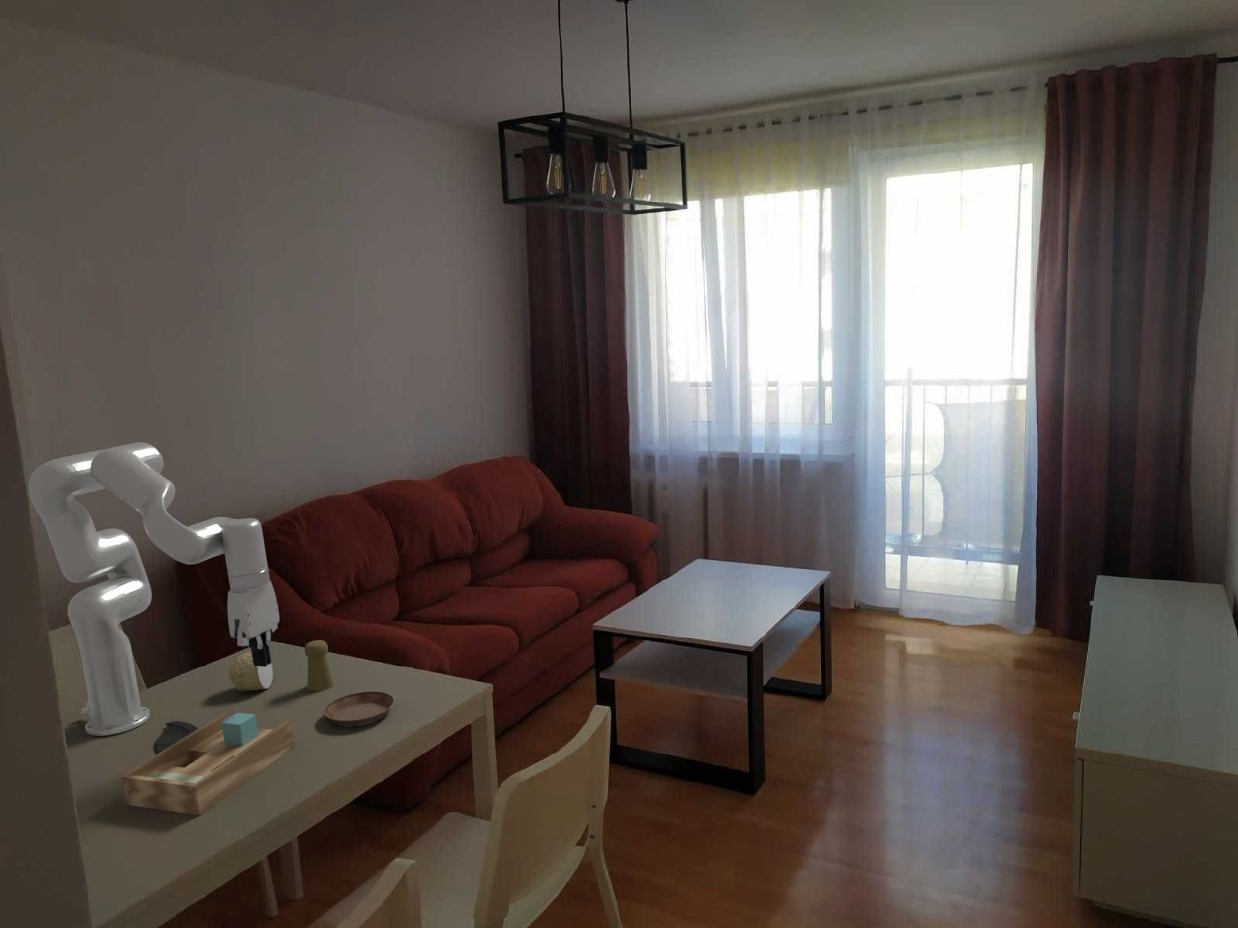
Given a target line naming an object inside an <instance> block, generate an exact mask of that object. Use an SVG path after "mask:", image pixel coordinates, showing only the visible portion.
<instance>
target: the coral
mask: <svg viewBox="0 0 1238 928" xmlns="http://www.w3.org/2000/svg"><path fill="white" fill-rule="evenodd" d="M227 671H228V672H227V675H228V678H229V681H230V682H231V683H232V685H233V687H234V688H235V689H236V690H238V692H251V691H260V690H268V689H270V687H271V685H272V682H273V678H274V671H273V664H272V662H271V664H269V665H267V666H266V667H261V666H254V664H253V658H252V652H251V651H249V652H245V653H241V654H240V655H238V656H237V657H236V658H235V659H234V661H233V662H232V664H231V665H230V667H229V668H228V670H227Z"/></svg>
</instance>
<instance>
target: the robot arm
mask: <svg viewBox="0 0 1238 928" xmlns="http://www.w3.org/2000/svg"><path fill="white" fill-rule="evenodd" d="M164 465H165V464H164V459H163V456H162V454H161V452H160V451H159V450H158V449H157V448H156V447H155V446H153V445H151V444H150V443H146V442H142V441H139V442H138V441H137V442H132V443H128V444H123V445H118V446H113V447H108V448H105V449H98V450H92V451H87V452H84V453H79V454H73V455H72V454H71V455H67V456H63V457H58V458H55V459H52V460H49V461H46V462H45V463H43V464H41V465H39V466H37V468H36V469H35V470H34V471H33V473H31V476H30V477H29V478H30V479H29V484H28V492H29V497H30V500H31V503H32V505H33V507H34V509H35V510H36V512H37V513H38V515H39V517H40V519H41V520H42V523H43V524H44V526H45V529H46V532H47V536H48V538H49V540H50V541H49V542H50V544H51V547H52V549H53V551H54V554H55V557H56V560H57V563H58V564H59V565H58V566H59V568H60V570H61V572H62V574H63V576H64V577H65V579H67V580H68V581H69V582H71V583H77V584H78V583H84V582H89V581H91V580H95V579H97V578H100V577H102V576H106V575H107V577H108V579H107V580H105V581H102V582H99V583H97V584H94V585H92V586H89V587H86V588H84V589H83V590H80V591H79V592H77V593H76V594H75V595H74V596H72V598H71V600H70V601H69V603H68V604H67V616H68V620H69V621H70V624H71V626H72V629H73V631H74V633H75V636H76V640H77V643H78V649H79V652H80V653H79V654H80V658H81V663H82V669H83V675H84V680H85V687H86V691H87V697H88V701H87V702H86V704H85V707H83V708H82V709H80V710H81V714H82V715H88V718H89V720H88V721H87V722H86V723H85V725H84V729H85V732H86V733H87V735H90V736H94V737H95V736H97V737H101V736H103V737H105V736H112V735H117V734H121V733H124V732H127V731H130V730H133V729H135V728H137V727H139V726H141V725H143V724H144V723H145V722H147V721H148V720H149V718H150V716H151V713H150V709H149V708H147V707H146V706H142V705H141V700H140V694H139V693H140V692H139V688H138V680H137V676H136V675H137V674H136V669H135V664H134V658H133V650H132V644H131V642H130V639H129V637H128V636H127V634H126V633H125V632H124V631H123V630H122V629H121V628H120V626H119V624H120V623H122V622H123V621H125V620H127V619H130V618H133V617H135V616H136V615H139V614H140V613H143V612H144V611H146V609H148V607H149V606H150V605H151V602H152V596H153V595H152V594H153V593H152V588H151V584H150V582H149V578H148V575H147V573H146V569H145V567H144V563H143V560H142V558H141V555H140V552H139V550H138V547H137V545H136V543H135V541H134V540H133V538H132V537H131V536H130V535H129V533H126V531H124V530H122V529H119V528H115V527H113V528H106V529H102V530H98V531H97V530H96V527H95V524H94V522H93V518H92V516H91V514H90V513H89V511H88V510H87V509H86V508H85V506H84V505H83V504H82V503H80V502H79V501H78V500H76V499H74V498H76V497H77V496H81V495H84V494H89V493H92V492H97V491H101V490H106V489H107V490H108V491H109V492H110V493H112V494H114V495H115V496H116V497H118V498H119V499H120V500H121V501H123V502H124V503H126V504H127V505H129V506H130V507H131V508H132V509H134V510H136V511H137V512H138V513H139V514H140V515H141V516H142V524H143V527H144V530H145V533H146V534H147V536H148V538H149V540H151V543H153V545H154V546H156V547H157V548H158V549H159V550H161V551H162V552H163V553H165V554H166V555H167V556H169V557H170V558H172V559H174V560H175V561H177V562H179V563H182V564H185V565H197V564H200V563H203V562H204V561H207V560H209V559H211V558H214V557H217V556H221V555H223V554H224V556H225V563H226V569H227V576H228V583H229V587H230V589H229V591H228V592H227V619H228V620H227V621H228V628H229V635H230V638H232V639H237V645H236V646H238V647H248V649H250V652H252V658H253V664H254V666H261V667H266V666H267V665H269V664H271V663H272V658H271V652H270V651H271V649H270V645H271V638H272V634H273V633H274V632H275V631H276V630H277V629H278V625H279V623H280V613H279V605H278V601H277V596H276V592H275V589H274V586H273V584H272V581H271V580H270V579H271V578H270V573H269V571H270V569H269V567H268V561H267V554H266V547H265V539H264V535H263V534H264V533H263V528H262V524H261V522H260V521H259V519H257V518H251V517H249V518H248V517H247V518H239V519H236V518H232V517H226V516H216V517H213V518H210V519H209V518H208V519H207V520H203V521H200V522H197V523H194V524H191V525H188V526H186V525H184V524H182V523H181V522H180V521H178V520H177V519H175V518H174V517H173V516H172V515H171V514H170V513H169V512H168V511H167V509H168V508H169V506H170V505H171V503H172V502H173V500H174V498H175V495H176V486H175V485H174V483H173V482H172V481H171V480H169V479H168V478H166V477H164V476H163V475H162V474H161V473H162V472H163V469H164Z"/></svg>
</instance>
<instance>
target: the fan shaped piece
mask: <svg viewBox="0 0 1238 928" xmlns="http://www.w3.org/2000/svg"><path fill="white" fill-rule="evenodd" d="M164 724H165V725H166V728H164V730H163V731H162V733H161V734H160V736H158V738H157V739H156V751H157V754H158V753H160V752H162V751H163V750H165V749H167V748H168V747H170V746H171V745H173V744H175V743H176V742H178V741H180V740H181V739H183V738H184V737H186V736H188V735H189V734H191V733H193V732H194V731H196V730H197V729H199V727H197V726H195V725H193V724H191V723H188V722H185V721H180V720H174V721H168V722H165V723H164Z"/></svg>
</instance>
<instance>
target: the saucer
mask: <svg viewBox="0 0 1238 928" xmlns="http://www.w3.org/2000/svg"><path fill="white" fill-rule="evenodd" d="M394 704H395V697H394V696H393V695H391V694H389V693H388V692H383V691H376V690H375V691H373V690H372V691H369V690H368V691H359V692H355V693H351V694H347V695H344V696H341V697H338V698H336V699H334V700H333V701H330V702H329V703H328V704H327V705H326V706H325V707H324V709H323V714H324V716H325V717H326V718H327V719H328V720H329V721H331V722H332V723H334V724H336V725H338V726H341V727H346V728H347V727H349V728H352V727H353V728H356V727H362V726H367V725H369V724H373V723H375V722H378V721H379V720H381V719H382V718H384V717H385V716H386V715H387V714H388V713H389V712H390V710H391V709H392V708H393V706H394Z"/></svg>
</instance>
